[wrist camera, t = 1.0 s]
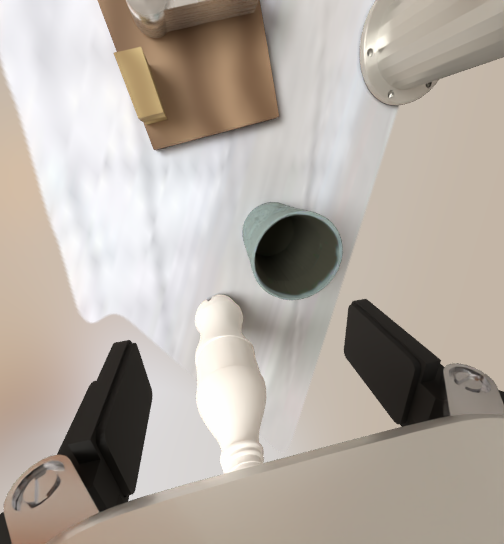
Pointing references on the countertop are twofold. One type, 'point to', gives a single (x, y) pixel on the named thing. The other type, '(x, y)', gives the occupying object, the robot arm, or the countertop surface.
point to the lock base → (194, 75)
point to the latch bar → (184, 13)
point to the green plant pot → (291, 250)
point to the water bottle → (229, 383)
